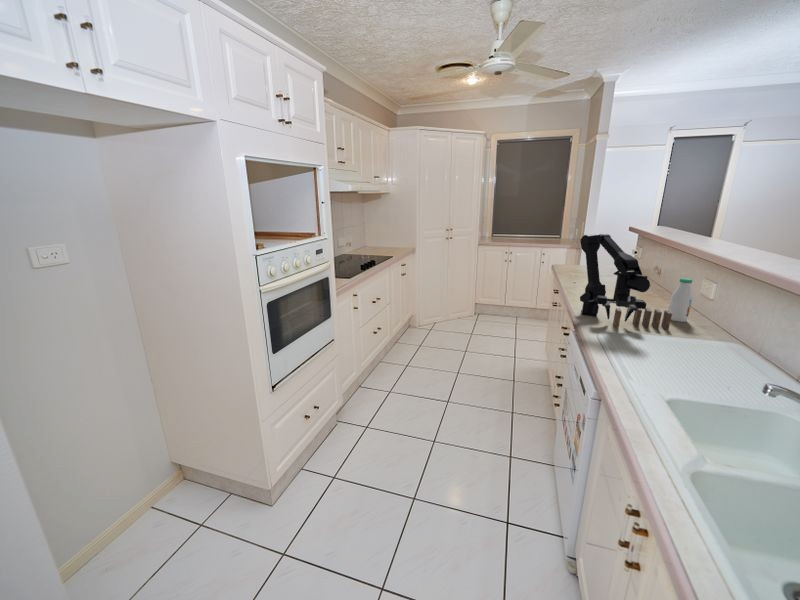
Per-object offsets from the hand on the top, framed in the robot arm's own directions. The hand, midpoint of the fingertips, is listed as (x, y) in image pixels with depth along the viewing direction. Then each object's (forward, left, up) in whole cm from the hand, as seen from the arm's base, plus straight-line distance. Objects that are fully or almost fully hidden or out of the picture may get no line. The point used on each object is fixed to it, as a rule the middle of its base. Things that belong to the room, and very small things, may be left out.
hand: (616, 320), depth 159 cm
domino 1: (0, 0, -3) cm, 3 cm away
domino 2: (+9, +6, -3) cm, 11 cm away
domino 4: (+16, +6, -3) cm, 17 cm away
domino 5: (+20, +6, -3) cm, 21 cm away
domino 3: (+12, +6, -3) cm, 14 cm away
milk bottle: (+28, +22, -3) cm, 36 cm away
